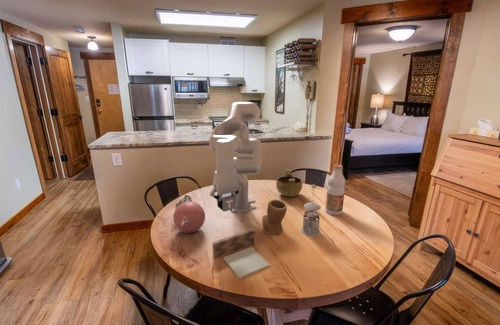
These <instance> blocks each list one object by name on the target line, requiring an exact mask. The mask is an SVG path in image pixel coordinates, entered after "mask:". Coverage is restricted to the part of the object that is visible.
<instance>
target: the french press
mask: <svg viewBox="0 0 500 325" xmlns="http://www.w3.org/2000/svg"><path fill="white" fill-rule="evenodd" d="M311 188H313V191H312V192H313V193H312V194H313V195H312V196H314V195H315V194H314V191H315V188H317V186H316V184H312V185H311ZM303 208H304V209H305V210H306V211H304V213H303V220H302V227H301V228H300V232H301V233H302V235H305V236H307V237H309V238H312V237H313V238H315V237H318V236H320V234H322V233H321V230H320V220H321V219H320V213H319V212H318V211H320V210H321V209H322V206H321V205H320V204H319V203H317V202H314V201H310V202H307V203H304V205H303Z"/></svg>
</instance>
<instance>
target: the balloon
mask: <svg viewBox="0 0 500 325" xmlns="http://www.w3.org/2000/svg"><path fill="white" fill-rule="evenodd" d="M172 215H173V216H172V217H173V218H172V220H173V223H174V226H175V227H176V229H177V230H178V231H180V232H183V233H185V234H191V233H195V232H197V231H199V230H200V229H201V228H202V227H203V225H204V224H205V220H206V213H205V210H204V208H203V207H202V206H201V204H200V203H197V202H195V201H193V200H192V201H188V202H184V203H182V204H180V205H179V206H178V207H175V209H174V211H173V214H172Z"/></svg>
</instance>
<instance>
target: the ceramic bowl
mask: <svg viewBox="0 0 500 325" xmlns="http://www.w3.org/2000/svg"><path fill="white" fill-rule="evenodd" d="M275 183H276V190H277V192H278V193H279V194H281V195H283V196H284V197H288V198H292V197H293V198H294V197H296V196H298V195H299V194H300V193H301V191H302V189H303V179H302V178H300V177H298V176H294V175H292V169H285V175H283V176H279V177H277V179H276V182H275Z"/></svg>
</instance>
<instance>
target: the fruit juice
mask: <svg viewBox="0 0 500 325" xmlns="http://www.w3.org/2000/svg"><path fill="white" fill-rule="evenodd" d="M332 166H333V171H332V173H331V174H330V175H329V176H328V180H327V182H328V185H327V189H326V196H325V197H326V198H325V199H326V200H325V209H324V210H325V212H326V213H327V214H329V215H332V216H333V215H334V216H339V215H342V213H343V209H344V208H343V207H344V199H345V192H346V191H345V186H346V178H345V177H344V174H343V168H344V167H343V166H344V165H343V164H338V163H337V164H333V165H332Z"/></svg>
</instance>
